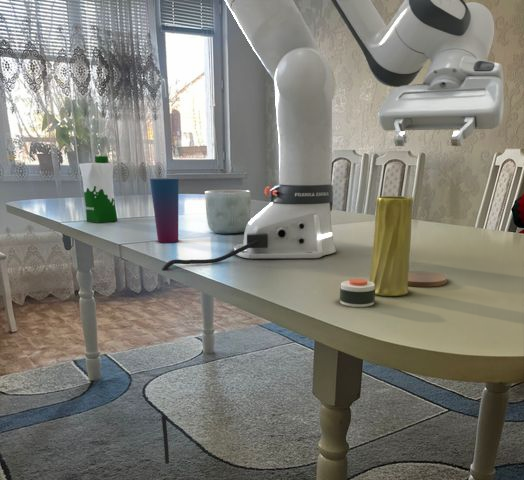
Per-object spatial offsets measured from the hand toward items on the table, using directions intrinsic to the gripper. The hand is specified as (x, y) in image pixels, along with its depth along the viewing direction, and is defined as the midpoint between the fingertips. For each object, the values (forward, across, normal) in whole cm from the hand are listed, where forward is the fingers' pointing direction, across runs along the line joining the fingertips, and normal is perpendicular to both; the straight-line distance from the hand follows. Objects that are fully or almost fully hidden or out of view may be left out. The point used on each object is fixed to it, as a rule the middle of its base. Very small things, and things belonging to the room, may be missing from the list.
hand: (426, 143), depth 89 cm
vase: (+26, +1, +5) cm, 27 cm away
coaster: (+19, +2, +12) cm, 22 cm away
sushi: (+32, -1, -1) cm, 32 cm away
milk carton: (-4, -113, +36) cm, 119 cm away
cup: (+11, -65, +21) cm, 69 cm away
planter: (-4, -61, +36) cm, 71 cm away
